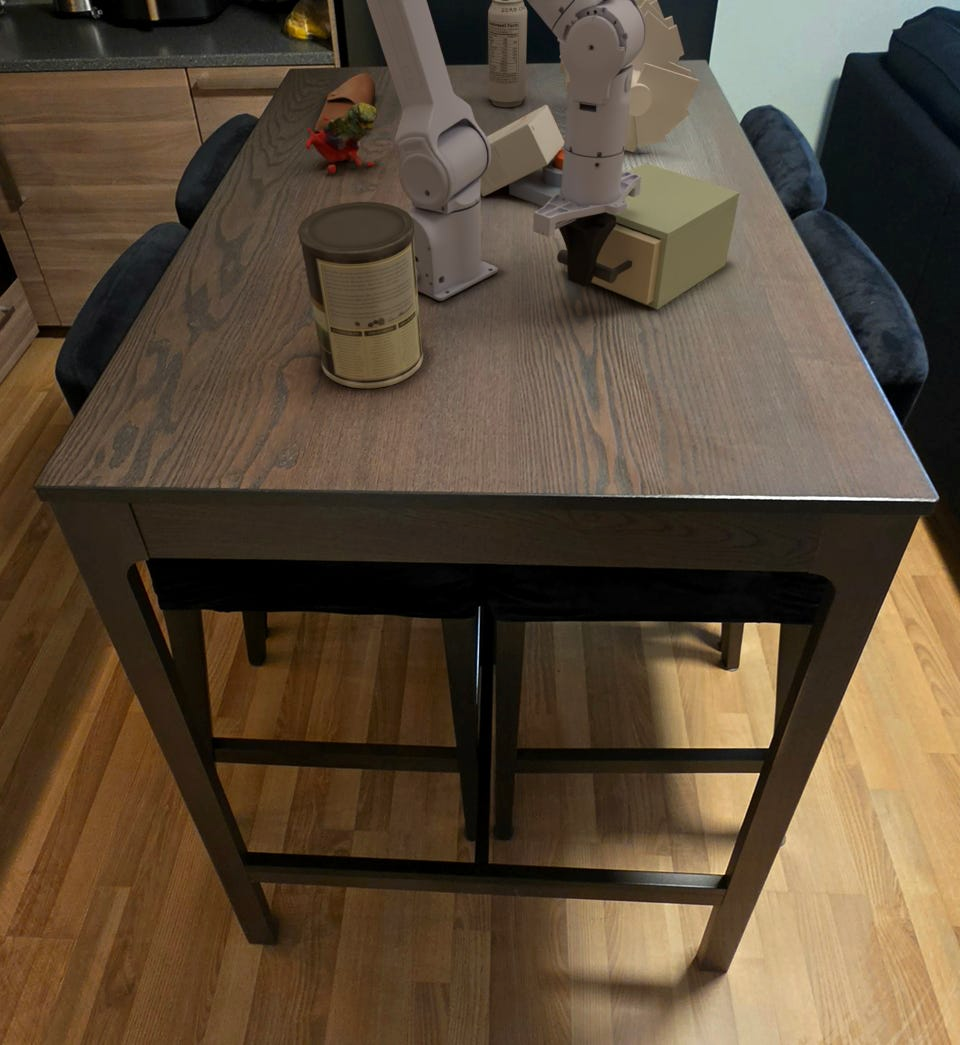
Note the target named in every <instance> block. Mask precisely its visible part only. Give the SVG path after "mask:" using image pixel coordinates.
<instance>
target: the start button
mask: <svg viewBox="0 0 960 1045" xmlns="http://www.w3.org/2000/svg"><path fill="white" fill-rule="evenodd" d="M563 156H564V149H560V151H559V152H558V153H557V154H556V155H555V157H554V168H556V169H559V170H563Z"/></svg>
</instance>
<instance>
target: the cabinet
mask: <svg viewBox="0 0 960 1045" xmlns="http://www.w3.org/2000/svg"><path fill="white" fill-rule="evenodd" d="M627 172H630V173H633V174H637V175H640V176H642V179H641V187H640V194H639V195H637V196H635V197H631V196H626V198H625V199H624V200H625V201H627V208H626V209H625V210H623V211H621V212H619V213H616V214H614V213H610V212H606V213H609V214H612V215H614V216H615V217H616V223H619V224H622V225H625V226H627V227H630V228H633V229H636V230H638V231H641V232H644V233H647V234H649V235H652V236H655V237H658V238H661V239H660V240H661V247H660V254H659V262H658V269H657V276H656V283H655V291H654V298H653V301H651V302H650V303H648V304H645V303H642V302H640V301H637V300H635V299H633V298H630V297H628V296H625V295H623V294H620V293H618V292H616V291H613V290H611V289H608V288H606V287H603V286H601V285H599V284H596V283H594V282H591V283H590V284H594V285H597V286H598V287H600V288H604V289H605V290H609V291H611V292H613V293H615V294H618V295H621V296H623V297H624V298H627V299H630V300H632V301H635V302H638V303H639V304H642V305H645V306H647V307H649V308H651V309H654V310H659V309H660V308H662V307H664V306H665V305H667V304H668V303H670V302H671V301H673V300H674V299H676V298H677V297H679V296H680V295H682V294H683V293H685V292H688V290H690V289H691V288H693V287H694V286H696V285H698V284H699V283H701V282H702V281H704V280H705V279H707V278H708V277H710V276H711V275H713V274H714V273H716V272H718V271H719V270H720V269H722V268H724V267H725V266H726V265H727V259H728V254H729V249H730V243H731V240H732V233H733V229H734V224H735V218H736V213H737V208H738V203H739V197H740V192H739V191H737V190H733V189H731V188H727V187H725V186H720V185H717V184H714V183H712V182H708V181H705V180H701V179H698V178H696V177H695V178H694V177H692V176H688V175H685V174H681V173H678V172H675V171H672V170H670V169H666V168H663V167H660V166H657V165H653V164H650V163H648V162H647V163H646V162H644V163H642V164H640V165H638V166H636V167H634V168H632V169H629V170H628V171H627ZM566 273H567V274H568V272H567V271H566Z"/></svg>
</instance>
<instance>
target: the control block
mask: <svg viewBox="0 0 960 1045" xmlns="http://www.w3.org/2000/svg"><path fill="white" fill-rule="evenodd" d="M562 171H563V170H559V169H556V168H554V158H553V159H552V160H551V161H550V162H549V164H548V165H546V166H544V167H542V168H540V169H538V170H536V171H534V172H532V173H530V174H528V175H526V176H524V177H522V178H520V179H518V180H516V181H514V182H512V183H510V184H508V194H509V195H511V196H513V197H516V198H518V199H522V200H525V201H526V202H529V203H533V204H535V205H538V206H541V207H543V206H545V205H546V204H547V202H548V201H549V200H550V199H551V198H552V197H553V196H554V195H555V194H556V193H557V192H558V191H559V190H560V189H561V185H562Z"/></svg>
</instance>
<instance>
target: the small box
mask: <svg viewBox="0 0 960 1045" xmlns="http://www.w3.org/2000/svg"><path fill="white" fill-rule="evenodd" d="M486 137H487V139H488V141H489V144H490V148H491V163H490V166H489V168H488V170H487V172H486V173H485V174H484V175H483V176H482V177H481V189H480V195H481V196H482V197H486V196H488V195H490V194H492V193H494V192H496V191H497V190H499V189H501V188H504V187H506V186H509V184H510V183H512V182H514V181H516V180H518V179H520V178H522V177H524V176H526V175H528V174H530V173H532V172H534V171H536V170H538V169H540V168H542V167H544V166H546V165H548V164H549V162H550V161H551V160H552V159H553V158H554V157H555V155H556V154H557V153H558V152H559V151H560V150H562V149H563V148H564V142H565V139H564V138H563V136H562V133H561V131H560V130H559V127H558V124H557V123H556V120H555V118H554V116H553V114H552V111H551V110H550V107H549V105H548V104H544V105H543V106H540V107H539V108H536V109H535V110H533V111H532V112H529V113H528V114H526V115H524V116H522V117H521V118H519V119H517V120H515V121H514V122H511V123H510V124H508V125H506V126H504V127H502V128H499V129H498V130H497V131H494V132H493V133H491V134H489V135H486Z"/></svg>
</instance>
